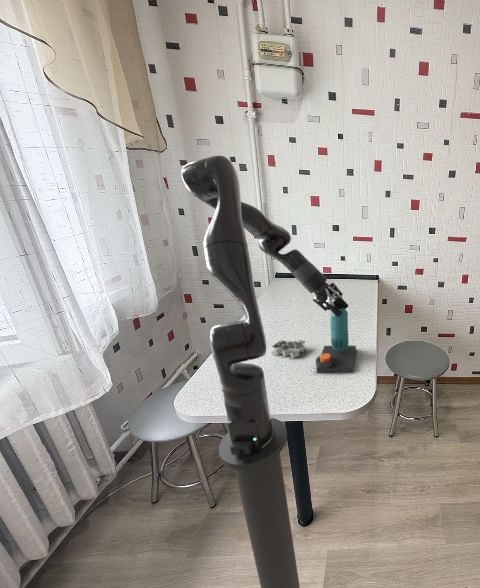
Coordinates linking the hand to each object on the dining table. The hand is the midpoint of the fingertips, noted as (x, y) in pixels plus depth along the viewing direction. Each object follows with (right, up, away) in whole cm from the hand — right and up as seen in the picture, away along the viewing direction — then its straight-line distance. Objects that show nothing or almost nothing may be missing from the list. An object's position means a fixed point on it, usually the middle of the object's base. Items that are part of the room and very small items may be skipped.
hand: (343, 311), depth 117 cm
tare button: (-6, -17, -1) cm, 18 cm away
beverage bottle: (-3, -15, +6) cm, 17 cm away
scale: (-3, -18, +4) cm, 19 cm away
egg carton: (-22, -16, +8) cm, 29 cm away
